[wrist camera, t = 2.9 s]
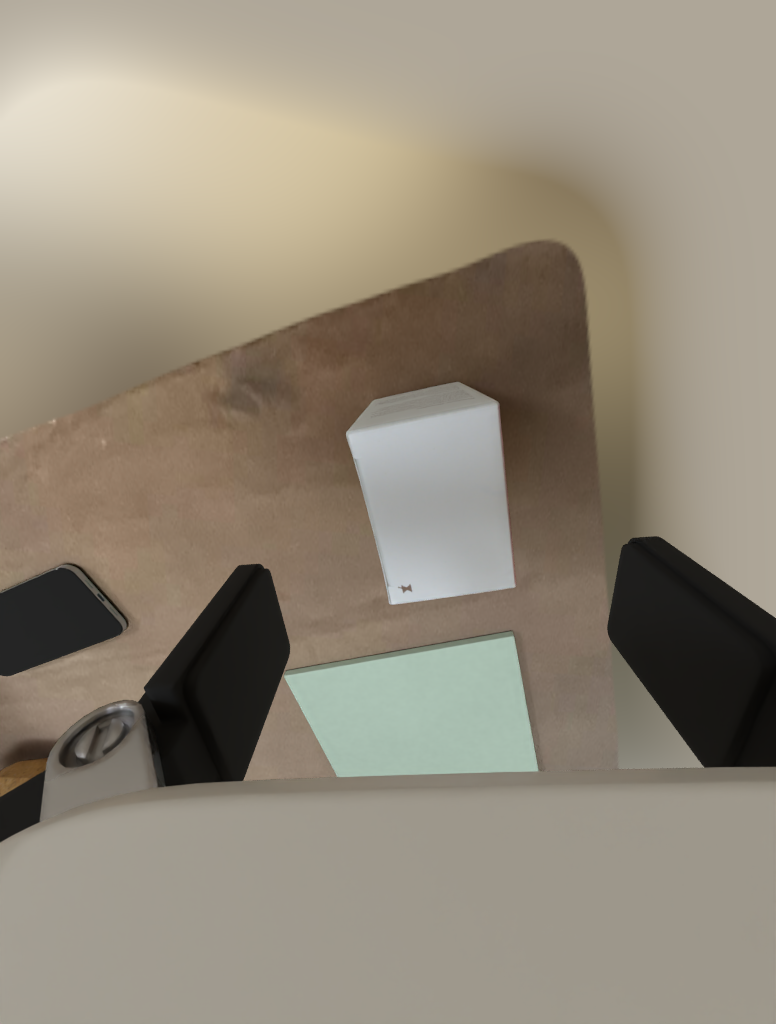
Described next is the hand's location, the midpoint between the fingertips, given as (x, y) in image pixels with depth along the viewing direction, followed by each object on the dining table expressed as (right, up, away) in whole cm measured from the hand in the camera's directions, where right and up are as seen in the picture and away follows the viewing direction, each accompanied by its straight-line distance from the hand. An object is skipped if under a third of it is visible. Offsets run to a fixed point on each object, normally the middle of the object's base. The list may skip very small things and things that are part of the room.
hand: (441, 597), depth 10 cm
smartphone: (-32, -7, +21) cm, 39 cm away
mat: (+2, -18, +25) cm, 31 cm away
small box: (+1, +6, +14) cm, 15 cm away
